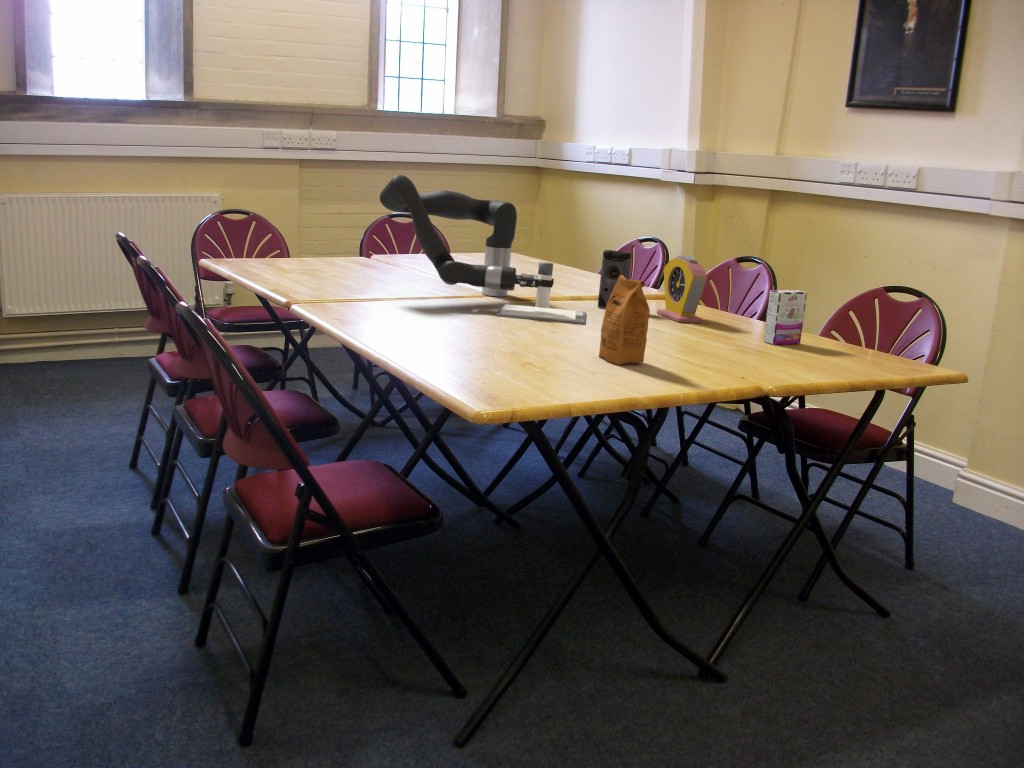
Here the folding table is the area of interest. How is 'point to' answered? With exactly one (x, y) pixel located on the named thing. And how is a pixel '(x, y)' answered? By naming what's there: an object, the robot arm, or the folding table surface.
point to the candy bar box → (785, 317)
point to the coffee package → (625, 323)
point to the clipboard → (541, 314)
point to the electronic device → (612, 273)
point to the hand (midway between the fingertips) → (552, 283)
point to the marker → (544, 292)
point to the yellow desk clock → (683, 289)
